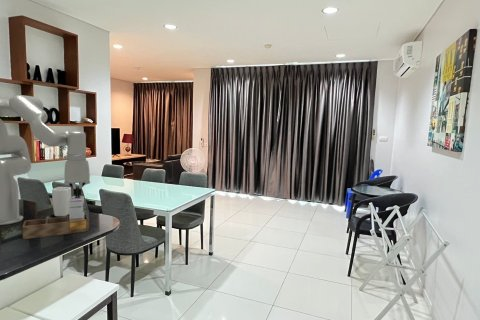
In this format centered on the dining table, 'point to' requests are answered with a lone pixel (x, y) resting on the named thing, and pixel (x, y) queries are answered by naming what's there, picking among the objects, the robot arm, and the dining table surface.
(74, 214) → the syrup box
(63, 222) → the rack
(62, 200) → the cup
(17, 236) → the dining table surface
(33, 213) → the dining table surface
